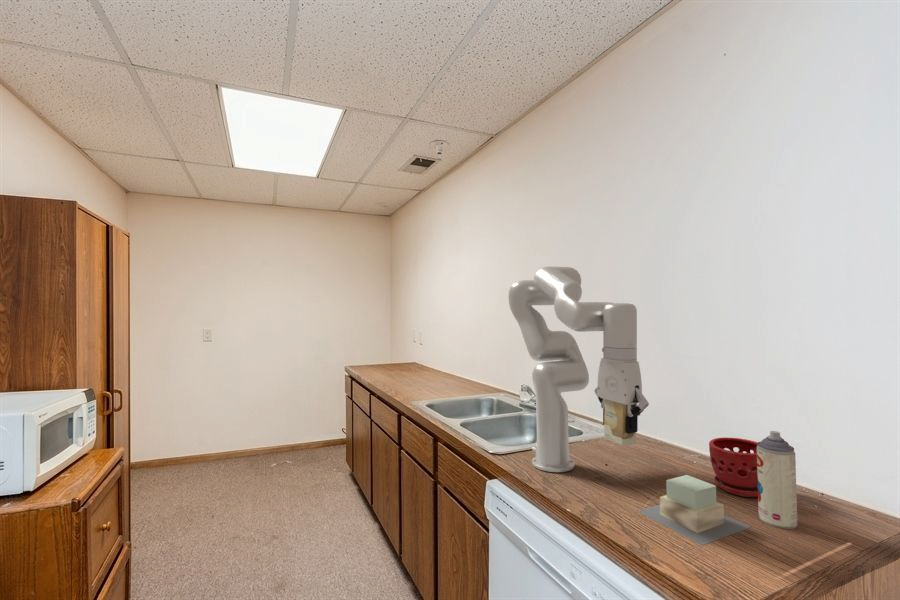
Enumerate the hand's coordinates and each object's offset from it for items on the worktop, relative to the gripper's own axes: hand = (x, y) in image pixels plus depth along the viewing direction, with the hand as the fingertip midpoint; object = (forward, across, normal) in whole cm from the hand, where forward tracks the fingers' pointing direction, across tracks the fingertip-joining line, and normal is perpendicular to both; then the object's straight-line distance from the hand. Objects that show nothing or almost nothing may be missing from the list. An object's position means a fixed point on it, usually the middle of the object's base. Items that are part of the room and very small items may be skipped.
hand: (619, 427), depth 102 cm
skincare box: (+3, 0, 0) cm, 3 cm away
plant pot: (+19, +7, +35) cm, 40 cm away
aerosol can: (+19, +21, +25) cm, 38 cm away
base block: (+18, +12, +9) cm, 24 cm away
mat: (+19, +12, +9) cm, 24 cm away
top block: (+14, +12, +9) cm, 21 cm away
